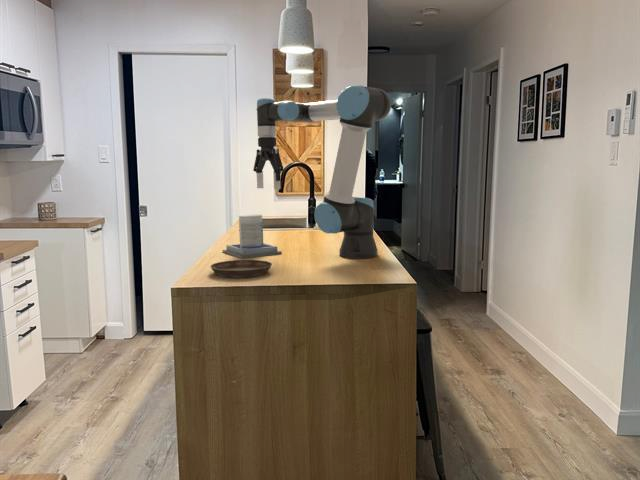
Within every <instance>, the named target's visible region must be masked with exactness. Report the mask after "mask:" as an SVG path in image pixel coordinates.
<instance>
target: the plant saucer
mask: <svg viewBox="0 0 640 480" xmlns="http://www.w3.org/2000/svg"><path fill="white" fill-rule="evenodd" d="M272 265H273V263H272V262H270V261H266V260H260V259H259V260H257V259H238V260H237V259H235V260H225V261H220V262H216V263H212V264H211V265H210V268H211V270H212V272H214V274H216V275H217V276H219V277H221V278H230V279H244V278H245V279H247V278H255V277H259V276H263V275H265V274H266V273H267V272H268V271H269V270H270V269H271V267H272Z"/></svg>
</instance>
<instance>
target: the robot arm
mask: <svg viewBox="0 0 640 480" xmlns="http://www.w3.org/2000/svg"><path fill="white" fill-rule="evenodd" d="M391 108H392V101H391V98H390V95H389V94H388V93H387V92H386V91H385V90H383V89H381V88H377V87H369V86H364V85H350V86H347V87H345V88H344V89H343V90H341V91H340V93H339V95H338V96H337V99H336V100H325V101H318V102H317V101H316V102H307V103H306V102H305V103H304V102H303V103H301V102H295V101H294V100H283V101H278V102H277V101H276V100H275V98H271V97H265V98H264V97H263V98H258V99H257V102H256V114H257V115H256V121H257V137H258V138H257V146H258V147H259V148H260V149H258V148H257V149H256V156H255V160H254V165H253V169H252V170H253V172H255V173H256V189H264V188H265V187H264V171H263V169H264V168H265V165H266V162H267V161H269V164H270V165H271V167H272V169H273V190H281V189H282V188H281V173H283V172H284V165H283V163H282V159H281V155H280V149H279V148H275V147H277V138H276V136H277V124H276V123H277V122H296V123H298V122H301V123H307V124H308V123H309V124H311V123H316V122H322V121H323V122H324V121H335V120H339V124H340V125H341V128H342V130H341V134H340V140H339V143H338V148H337V152H336V158H335V162H334V168H333V173H332V176H331V177H332V178H331V182H330V187H329V191H327V192H326V193H324V197H323V201H322V202H320V203H319V204H318V205H317V206H316V207H315V209H314V221H315V223H316V226H317V228H318V229H320V231H322V232H323V233H326V234H338V233H343V238H342V241H341V245H340V247H339V256H340V257H342V258H347V259H370V258H376V257H378V254H379V253H378V252H379V251H378V248H377V243H376V242H375V238H374V210H375V206H374V200H373V199H371V198H369V197H359V196H358V197H357V196H353V195H354V194H353V193H354V189H355V184H356V180H357V175H358V171H359V166H360V162H361V159H362V154H363V148H364V145H365V144H364V143H365V139H366V135H367V132H368V131H370V130H371V129H372V127H373V123H374V122H378V121H382V120H384V119H385V118H386V117H387V116H388V115H389V113H390V112H391Z"/></svg>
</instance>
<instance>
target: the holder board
mask: <svg viewBox="0 0 640 480" xmlns="http://www.w3.org/2000/svg"><path fill="white" fill-rule="evenodd" d="M225 246H226V249H222V253H224V254H226V255H230V256H232V257H236V258H239V259H240V260H244V259H250V258H258V257H259V258H260V257H267V256H268V257H269V256H275V255H276V256H277V255H282V254H283V252H282V251H281V250H279V249H278V246H277V245H274V244H273V245H272V244H269V243H264V242H263V248H254V249H245V250H244V249H241V248H240V243H236V244H227V245H225Z"/></svg>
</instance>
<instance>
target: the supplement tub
mask: <svg viewBox="0 0 640 480" xmlns="http://www.w3.org/2000/svg"><path fill="white" fill-rule="evenodd" d="M238 217H239V218H238V226H239V227H238V228H239V229H238V230H239V244H240V248H241V249H244V250H245V249H254V248H263V243H264V224H263V223H264V221H263V214H259V213H258V214H257V213H252V214H251V213H250V214H249V213H248V214H246V213H245V214H240V215H239V216H238Z"/></svg>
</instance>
